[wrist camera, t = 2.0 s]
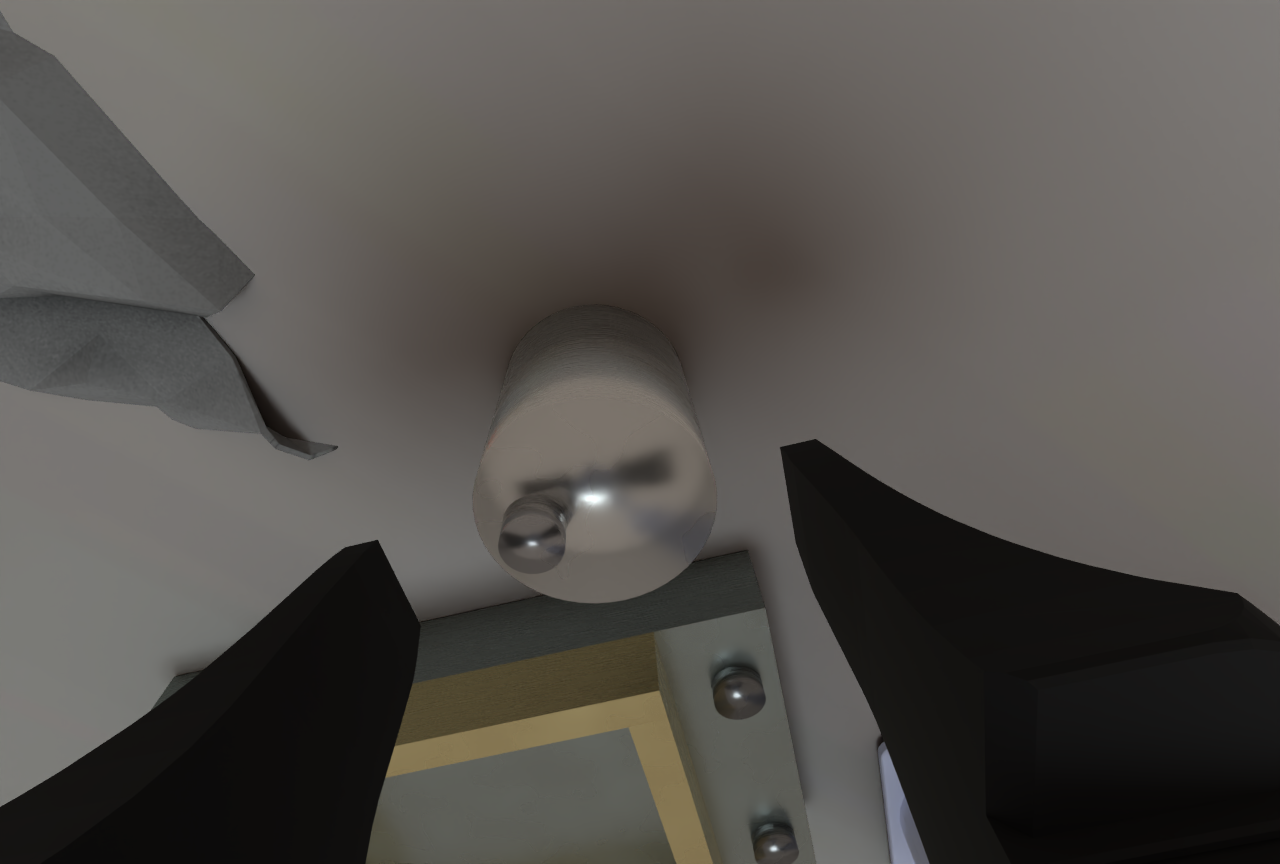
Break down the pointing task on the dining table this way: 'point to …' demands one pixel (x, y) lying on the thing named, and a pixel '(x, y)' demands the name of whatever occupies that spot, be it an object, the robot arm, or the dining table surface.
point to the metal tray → (597, 734)
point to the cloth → (108, 264)
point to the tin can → (594, 461)
